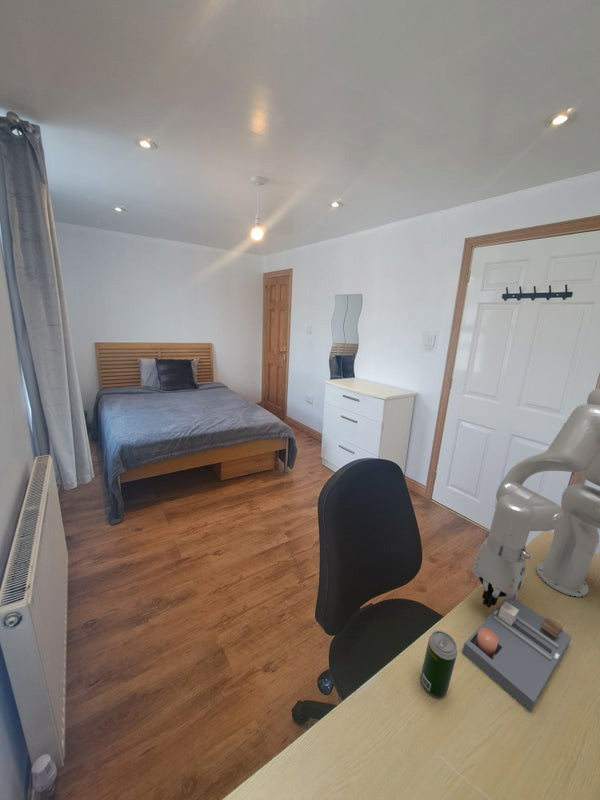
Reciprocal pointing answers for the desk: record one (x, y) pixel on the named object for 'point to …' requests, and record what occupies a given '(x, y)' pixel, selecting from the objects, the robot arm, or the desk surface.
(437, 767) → the desk surface
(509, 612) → the slider knob
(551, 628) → the rocker
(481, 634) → the push button
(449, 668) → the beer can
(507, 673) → the console
